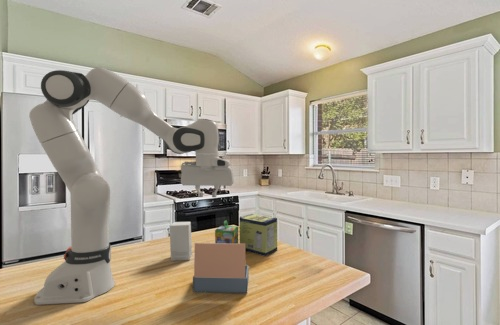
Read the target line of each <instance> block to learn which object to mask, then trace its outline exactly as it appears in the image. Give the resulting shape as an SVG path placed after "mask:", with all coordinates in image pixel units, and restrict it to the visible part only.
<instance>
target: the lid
mask: <svg viewBox="0 0 500 325" xmlns="http://www.w3.org/2000/svg"><path fill="white" fill-rule="evenodd" d="M193 257H194V262H193V263H194V265H193V266H194V268H193V273H194V274H193V276H194V277H206V278H245V265H246V251H245V244H240V243H238V244H227V243H215V242H214V243H213V242H208V243H207V242H206V243H205V242H195V243H194V256H193Z"/></svg>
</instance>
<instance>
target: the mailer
mask: <svg viewBox="0 0 500 325" xmlns="http://www.w3.org/2000/svg"><path fill="white" fill-rule="evenodd" d="M249 268H250V267H249V264H245V278H206V277H194V275H193V277H192V293H203V294H204V293H213V294H214V293H215V294H248V289H249V288H248V287H249V277H250V276H249V274H250V273H249V272H250V271H249Z"/></svg>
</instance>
